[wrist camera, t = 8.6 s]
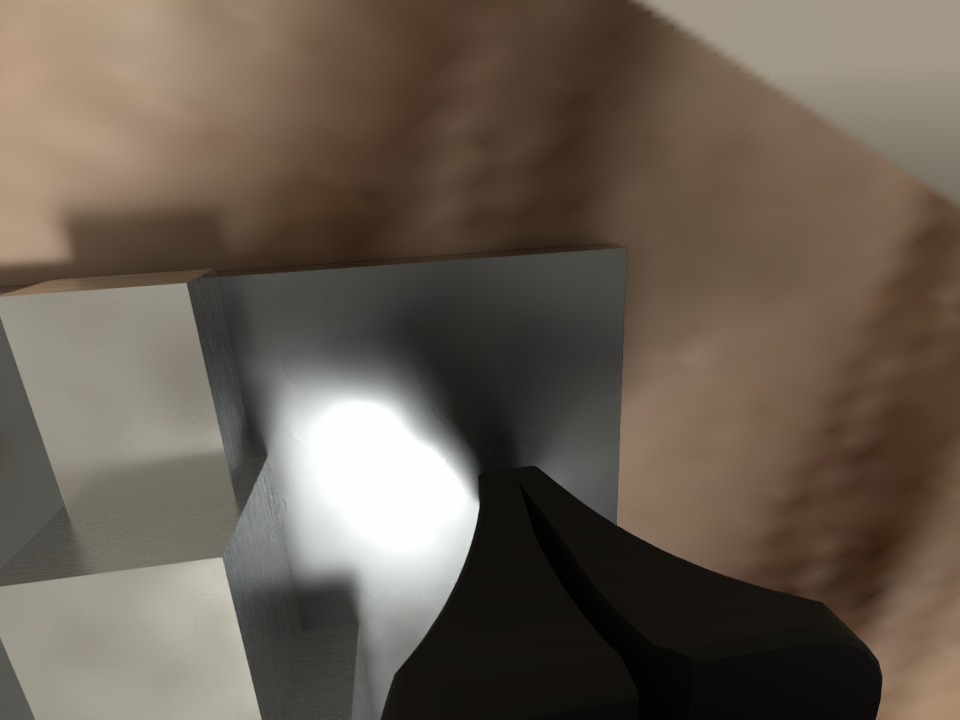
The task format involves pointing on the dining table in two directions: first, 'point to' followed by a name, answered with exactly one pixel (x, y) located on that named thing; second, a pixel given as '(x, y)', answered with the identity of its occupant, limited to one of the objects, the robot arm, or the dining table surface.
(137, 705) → the link
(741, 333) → the dining table surface
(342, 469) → the plate
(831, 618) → the robot arm
